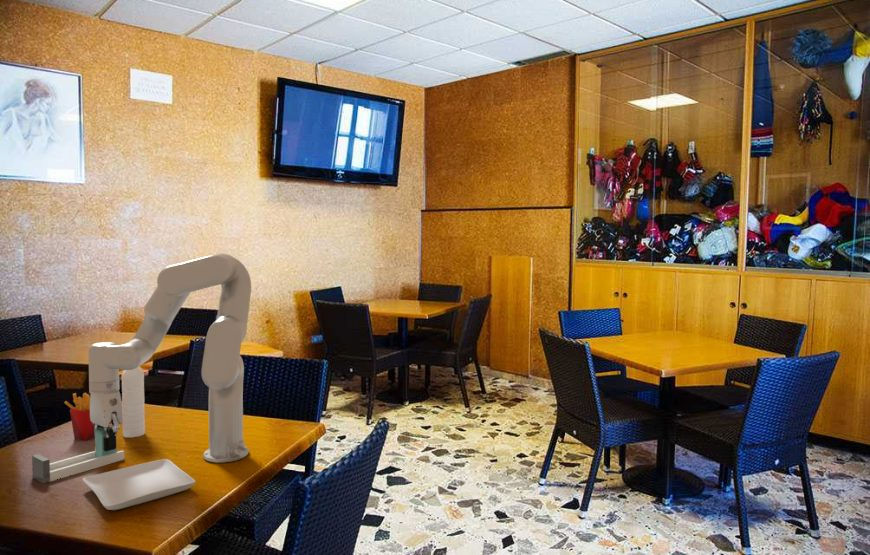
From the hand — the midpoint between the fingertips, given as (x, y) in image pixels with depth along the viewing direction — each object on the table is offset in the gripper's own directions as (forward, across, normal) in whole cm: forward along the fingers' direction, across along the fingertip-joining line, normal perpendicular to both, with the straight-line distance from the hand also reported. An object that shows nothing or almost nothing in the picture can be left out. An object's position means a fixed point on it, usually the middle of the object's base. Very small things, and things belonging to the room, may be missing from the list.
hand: (105, 447), depth 169 cm
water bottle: (+4, +16, -17) cm, 24 cm away
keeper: (+3, 0, 0) cm, 3 cm away
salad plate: (+4, -27, +5) cm, 28 cm away
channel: (+4, 0, +7) cm, 8 cm away
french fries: (+4, +23, -5) cm, 24 cm away
